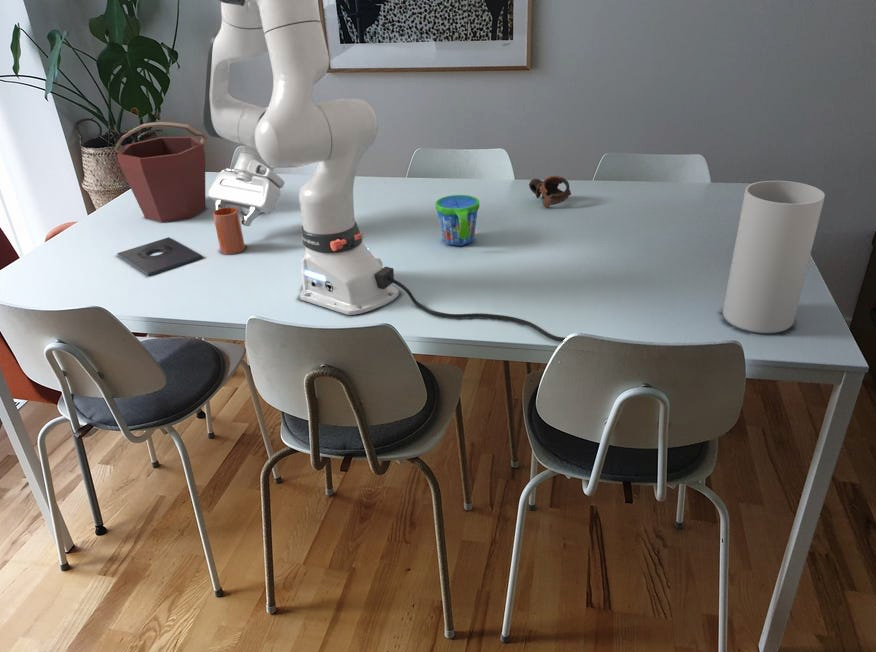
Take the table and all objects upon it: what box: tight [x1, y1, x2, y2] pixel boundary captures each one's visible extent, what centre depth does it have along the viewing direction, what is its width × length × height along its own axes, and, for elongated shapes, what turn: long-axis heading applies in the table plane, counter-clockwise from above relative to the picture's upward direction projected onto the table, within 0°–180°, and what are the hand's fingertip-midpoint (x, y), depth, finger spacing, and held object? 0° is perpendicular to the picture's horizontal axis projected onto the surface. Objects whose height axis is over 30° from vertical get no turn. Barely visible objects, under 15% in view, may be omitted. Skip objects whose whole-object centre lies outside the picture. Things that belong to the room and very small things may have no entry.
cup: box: [212, 206, 246, 255], centre depth 182 cm, size 6×6×10 cm
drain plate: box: [116, 236, 203, 277], centre depth 182 cm, size 18×14×1 cm
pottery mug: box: [528, 175, 572, 209], centre depth 200 cm, size 12×10×8 cm
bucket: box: [114, 121, 208, 223], centre depth 204 cm, size 24×22×25 cm
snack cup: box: [435, 194, 481, 247], centre depth 179 cm, size 16×10×10 cm
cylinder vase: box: [722, 180, 826, 334], centre depth 134 cm, size 12×12×25 cm
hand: (231, 222), depth 182 cm, fingers open, 8 cm apart
